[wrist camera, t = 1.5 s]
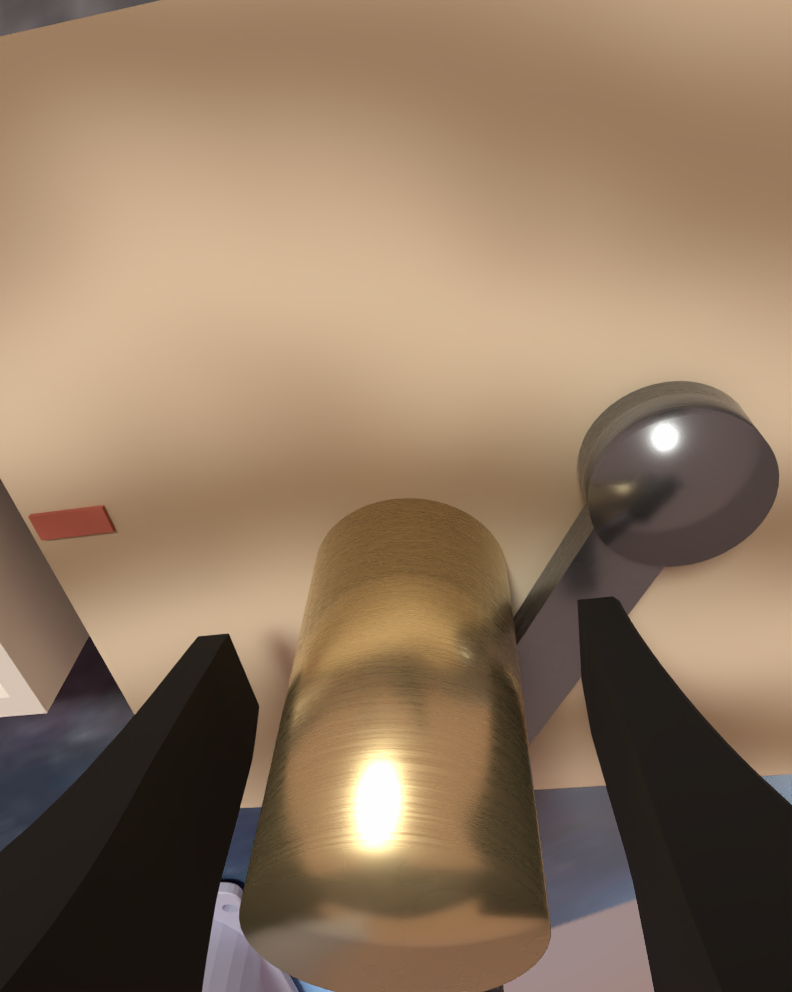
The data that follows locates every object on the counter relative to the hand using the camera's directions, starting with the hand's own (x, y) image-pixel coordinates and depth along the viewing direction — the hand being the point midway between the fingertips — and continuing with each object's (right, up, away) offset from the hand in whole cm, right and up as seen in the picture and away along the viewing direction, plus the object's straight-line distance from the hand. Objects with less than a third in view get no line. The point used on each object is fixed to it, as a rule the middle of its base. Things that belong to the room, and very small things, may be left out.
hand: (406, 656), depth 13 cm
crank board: (0, +3, +2) cm, 4 cm away
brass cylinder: (0, +1, +2) cm, 2 cm away
